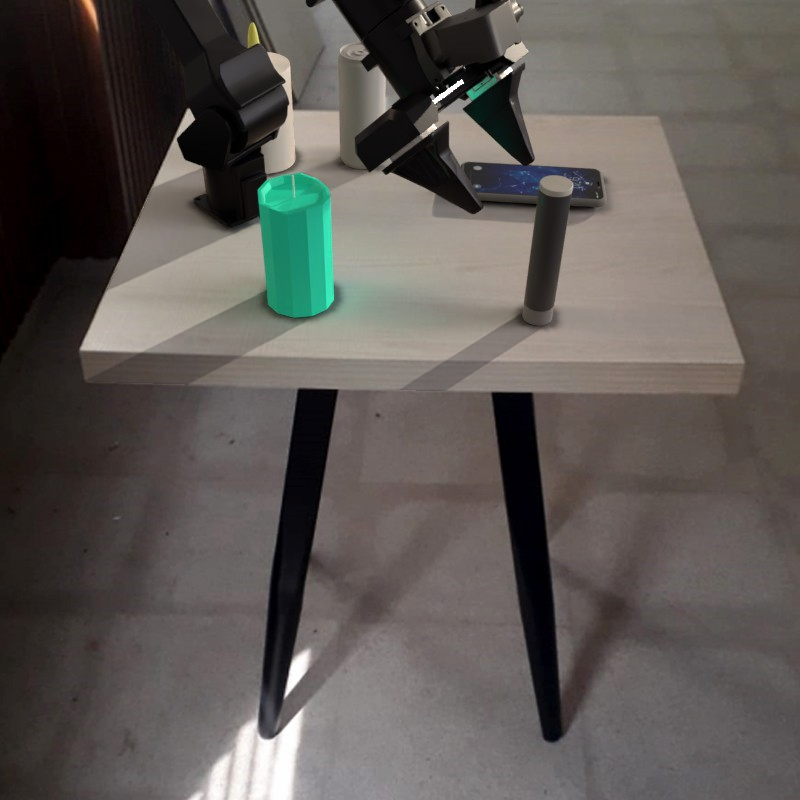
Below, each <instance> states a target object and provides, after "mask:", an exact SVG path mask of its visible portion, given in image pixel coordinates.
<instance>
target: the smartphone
mask: <svg viewBox="0 0 800 800" xmlns="http://www.w3.org/2000/svg"><path fill="white" fill-rule="evenodd" d="M460 166H461V168H462V169H463V171H464V173H465V174H466V176H467V177H468V179H469V181H470V182H471V184H472V186H473V187H474V189H475V191H476V193H477V195H478V197H479V199H480V201H481V202H500V203H515V204H516V203H517V204H535V205H537V199H538V192H539V184H540V180H541V179H542V178H544V177H546V176H551V175H557V176H563V177H566V178H568V179H569V180H571V181H572V183H573V190H572V196H571V203H570V207H587V208H601V207H604V206H605V205H606V204H607V200H608V199H607V191H606V185H605V181H604V180H605V179H604V175H603V172H602V171H601V170H599V169H597V168H591V167H573V166H556V165H539V164H538V165H537V164H529V165H528V166H523V165H522V164H521V163H504V162H503V163H501V162H483V161H465V162H463V163H461V164H460Z"/></svg>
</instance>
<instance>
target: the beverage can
mask: <svg viewBox="0 0 800 800" xmlns="http://www.w3.org/2000/svg"><path fill="white" fill-rule="evenodd" d="M338 53H339V54H338V56H337V77H338V78H337V79H338V121H339V122H338V123H339V157H340V159H341V161H342V163H344V164H345V165H346V166H347V167H349V168H352V169H356V170H367V169H366V167H365V166H364V165H363V163H362V162H361V161H360V159H359V158H358V156H357V155H356V154H355V137H356V136H357V135H358V134H359V133H360V132H362V131H363V130H364V129H365V128H367V127H368V126H369V125H370V124H371V123H373V122H374V121H375V120H376V119H377V118H379V117H380V116H381V115H382V114H384V113H385V112H386V83H387V79H386V78H385V76H384V75H383V73H382V72H381V70H380V69H379V68H378V66H377V67H375V68H374V69H372V70H371V71H369V72H367V70H366V69H365V67H364V66H363V65H362V63H361V62H360V61H361V60H362V59H363V58H364V57H366V56H367V55H368V54H369V53H368V52H367V50H366V49H365V48H364V46H363V45H362V43H361V42H360V41H356V42H350V43H346V44H344V45H342V46H341V47H340V48H339V50H338Z"/></svg>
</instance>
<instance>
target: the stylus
mask: <svg viewBox="0 0 800 800" xmlns="http://www.w3.org/2000/svg"><path fill="white" fill-rule="evenodd" d="M572 190H573V183H572V181H571V180H569V179H568V178H566V177H563V176H557V175H551V176H546V177H544V178H542V179H541V180H540V184H539V192H538V199H537V204H536V208H535V215H534V223H533V230H532V237H531V245H530V252H529V253H530V254H529V261H528V268H527V276H526V284H525V291H524V298H523V306H522V313H521V317H522V319H523V320H524V321H525V322H526V323H527V324H530V325H532V326H539V327H541V326H546V325H548V324H550V323H551V321H552V320H553V316H554V309H555V303H556V297H557V290H558V285H559V278H560V271H561V265H562V260H563V253H564V247H565V239H566V235H567V229H568V221H569V214H570V208H571V206H570V203H571V196H572Z"/></svg>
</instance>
